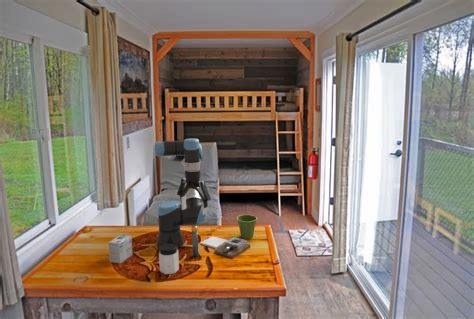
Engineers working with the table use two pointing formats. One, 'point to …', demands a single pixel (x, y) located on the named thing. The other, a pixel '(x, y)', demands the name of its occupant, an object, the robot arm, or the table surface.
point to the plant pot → (246, 225)
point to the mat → (213, 242)
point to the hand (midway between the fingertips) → (194, 211)
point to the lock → (233, 247)
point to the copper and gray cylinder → (195, 241)
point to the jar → (168, 258)
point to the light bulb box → (120, 248)
